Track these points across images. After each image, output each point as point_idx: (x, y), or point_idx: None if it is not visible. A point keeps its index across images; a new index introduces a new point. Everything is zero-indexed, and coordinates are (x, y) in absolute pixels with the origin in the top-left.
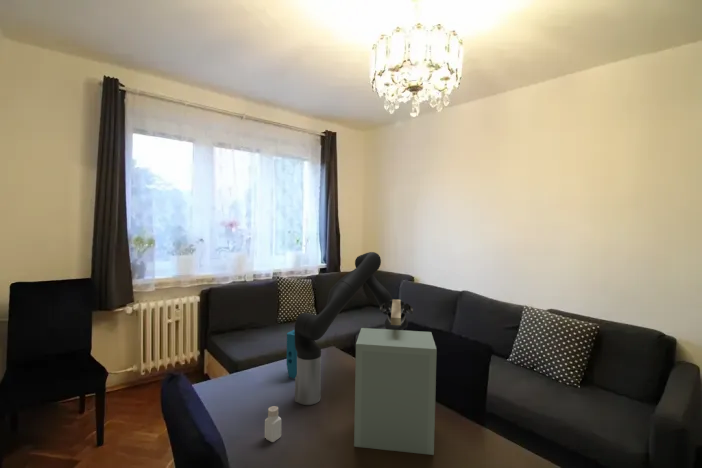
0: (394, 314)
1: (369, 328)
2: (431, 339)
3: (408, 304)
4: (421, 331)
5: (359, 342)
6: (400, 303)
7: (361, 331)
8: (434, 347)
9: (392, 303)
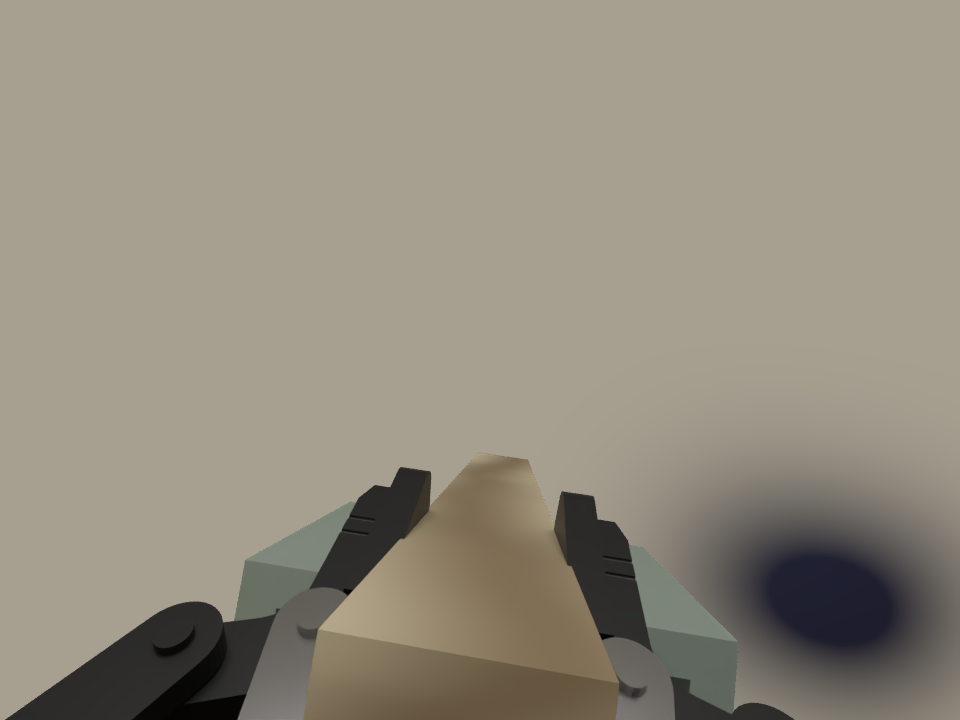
0: (510, 463)
1: (675, 630)
2: (318, 526)
3: (150, 630)
4: (308, 570)
5: (635, 550)
6: (429, 506)
7: (695, 606)
8: (350, 506)
9: (550, 527)
